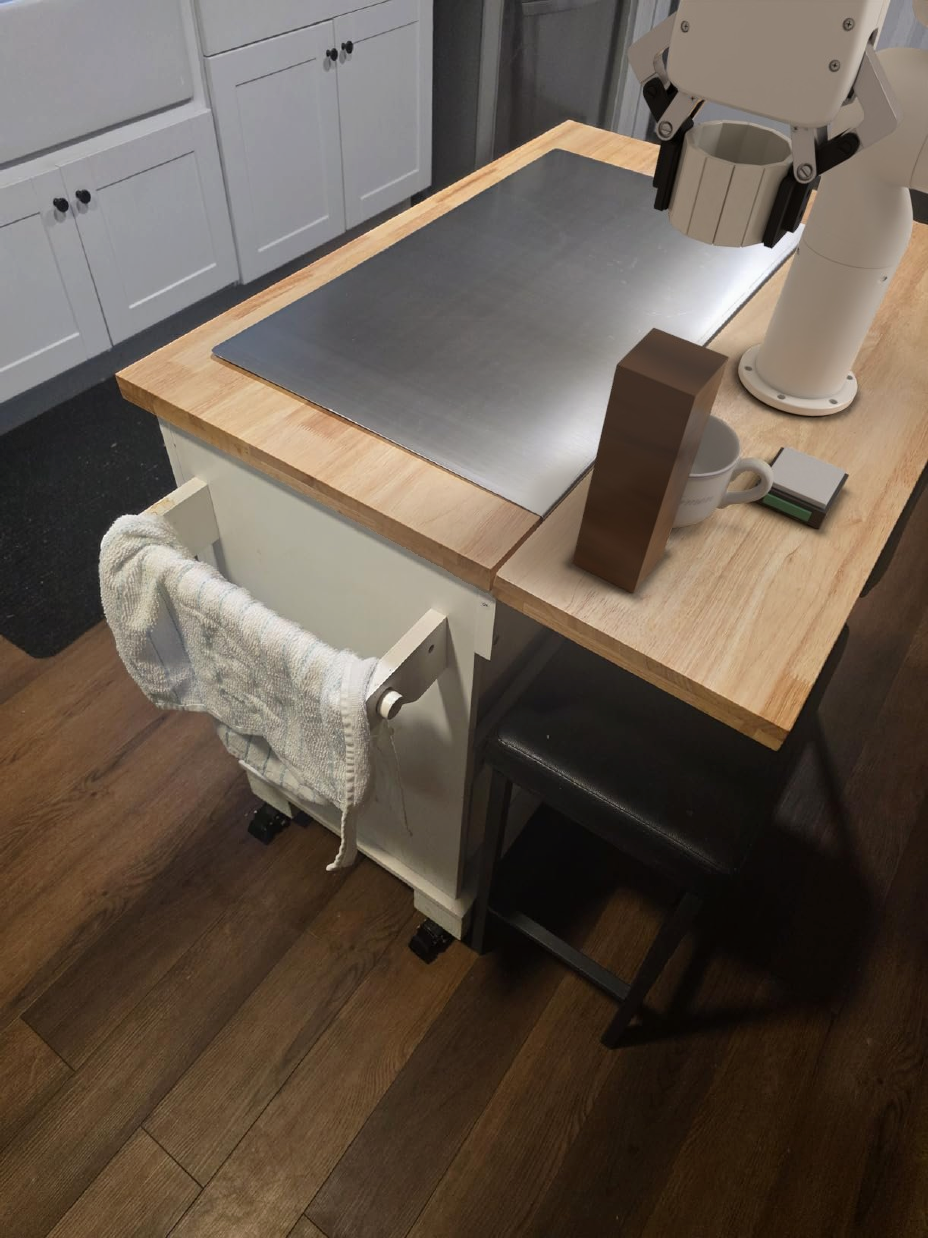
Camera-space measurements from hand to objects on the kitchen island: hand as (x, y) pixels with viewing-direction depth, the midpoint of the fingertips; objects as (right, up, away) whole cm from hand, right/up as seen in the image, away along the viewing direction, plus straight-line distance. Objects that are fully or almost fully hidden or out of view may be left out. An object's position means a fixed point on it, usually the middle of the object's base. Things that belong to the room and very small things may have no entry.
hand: (720, 217), depth 54 cm
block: (-2, -20, +22) cm, 30 cm away
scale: (+16, -13, +29) cm, 36 cm away
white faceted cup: (0, 0, 0) cm, 0 cm away
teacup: (+4, -15, +27) cm, 31 cm away
